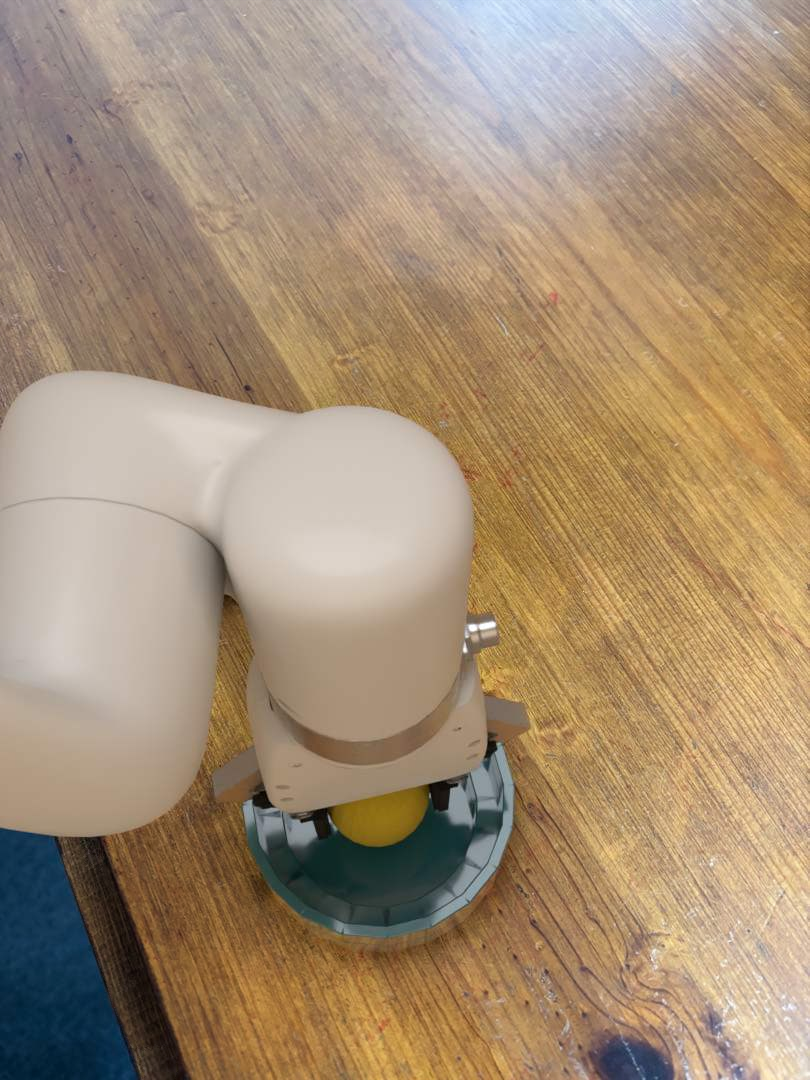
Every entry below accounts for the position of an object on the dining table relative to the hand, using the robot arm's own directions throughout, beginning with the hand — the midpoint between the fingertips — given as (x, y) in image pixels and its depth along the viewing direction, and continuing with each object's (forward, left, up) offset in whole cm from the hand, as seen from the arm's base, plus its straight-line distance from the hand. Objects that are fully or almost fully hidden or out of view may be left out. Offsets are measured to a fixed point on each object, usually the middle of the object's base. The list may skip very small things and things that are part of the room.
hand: (377, 796), depth 56 cm
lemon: (0, 0, -3) cm, 3 cm away
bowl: (0, 0, -5) cm, 5 cm away
